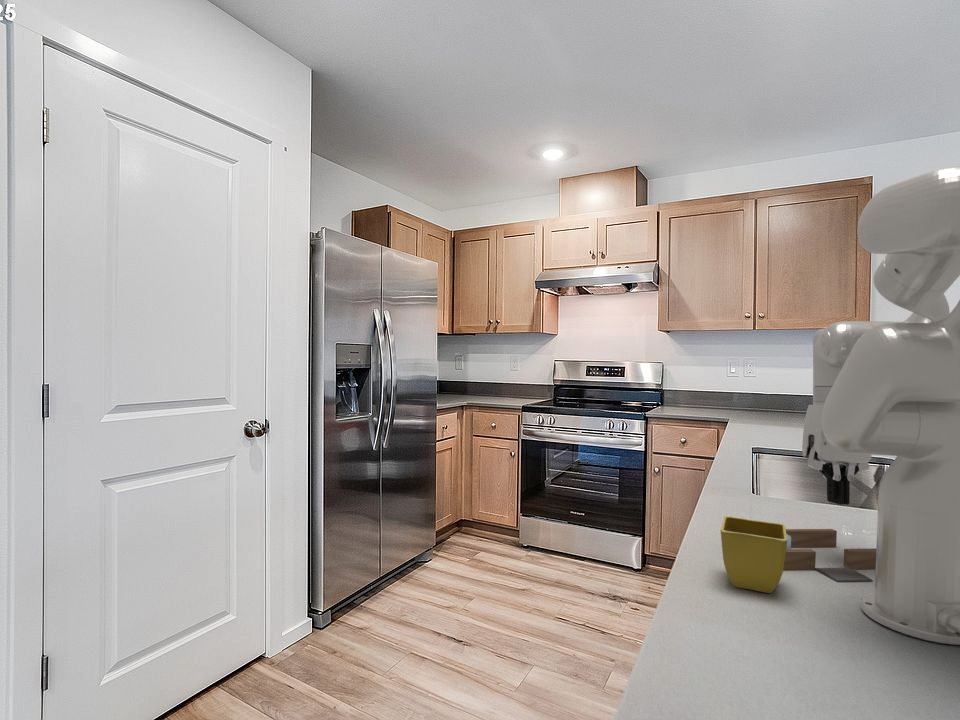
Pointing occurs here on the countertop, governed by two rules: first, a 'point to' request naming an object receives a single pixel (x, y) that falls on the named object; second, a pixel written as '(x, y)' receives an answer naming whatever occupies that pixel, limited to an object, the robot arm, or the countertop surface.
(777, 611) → the countertop surface
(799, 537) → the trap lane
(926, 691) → the countertop surface
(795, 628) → the countertop surface
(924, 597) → the robot arm
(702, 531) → the countertop surface
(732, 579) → the flower pot
